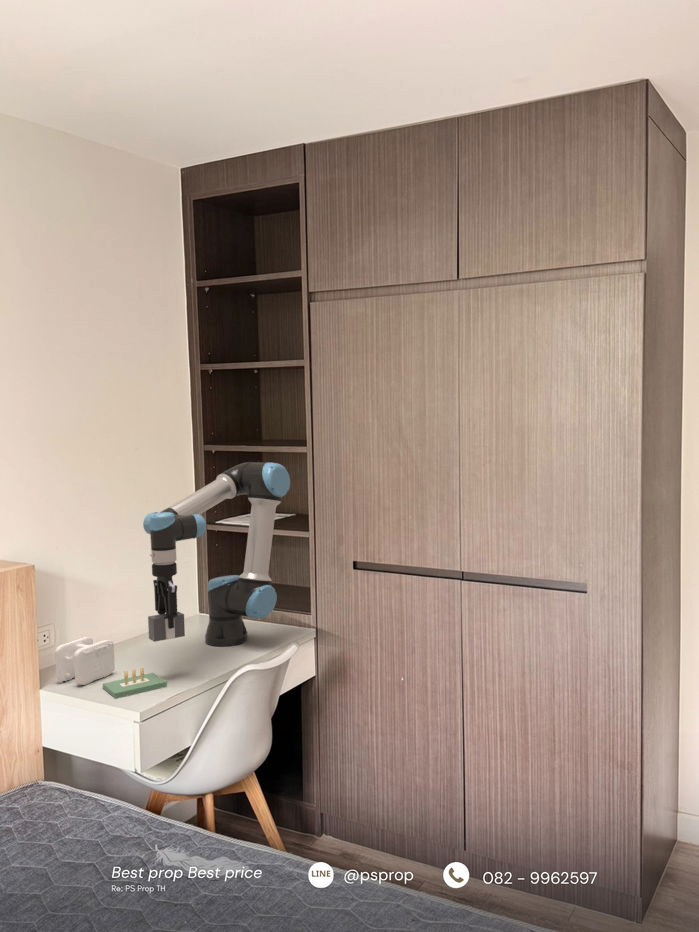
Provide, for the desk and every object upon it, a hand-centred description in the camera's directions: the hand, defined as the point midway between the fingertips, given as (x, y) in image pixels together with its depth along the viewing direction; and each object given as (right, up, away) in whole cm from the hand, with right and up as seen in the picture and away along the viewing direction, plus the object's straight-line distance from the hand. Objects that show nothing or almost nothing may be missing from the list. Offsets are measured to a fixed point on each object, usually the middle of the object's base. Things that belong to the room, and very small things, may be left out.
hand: (167, 636), depth 263 cm
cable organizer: (-26, -14, +2) cm, 29 cm away
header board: (-8, -14, -8) cm, 18 cm away
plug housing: (0, 0, 0) cm, 0 cm away
